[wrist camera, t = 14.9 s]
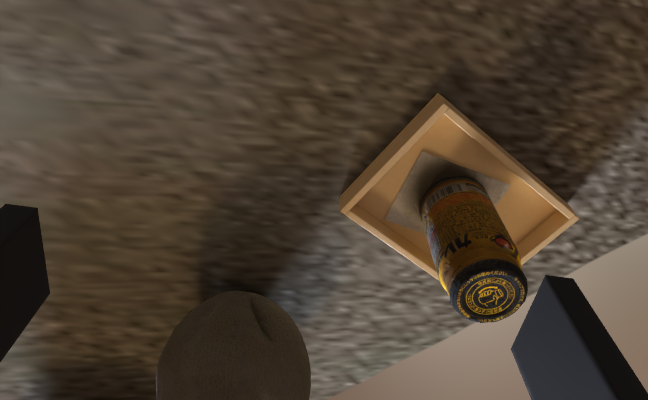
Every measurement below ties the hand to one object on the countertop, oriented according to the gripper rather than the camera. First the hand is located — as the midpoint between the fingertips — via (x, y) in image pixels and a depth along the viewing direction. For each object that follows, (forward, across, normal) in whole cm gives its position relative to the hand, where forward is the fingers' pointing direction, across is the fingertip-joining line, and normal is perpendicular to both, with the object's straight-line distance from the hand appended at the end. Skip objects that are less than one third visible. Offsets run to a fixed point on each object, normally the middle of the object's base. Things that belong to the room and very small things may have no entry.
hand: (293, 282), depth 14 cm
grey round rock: (+29, -3, -29) cm, 41 cm away
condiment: (+28, +13, -12) cm, 34 cm away
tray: (+29, +14, -12) cm, 34 cm away
